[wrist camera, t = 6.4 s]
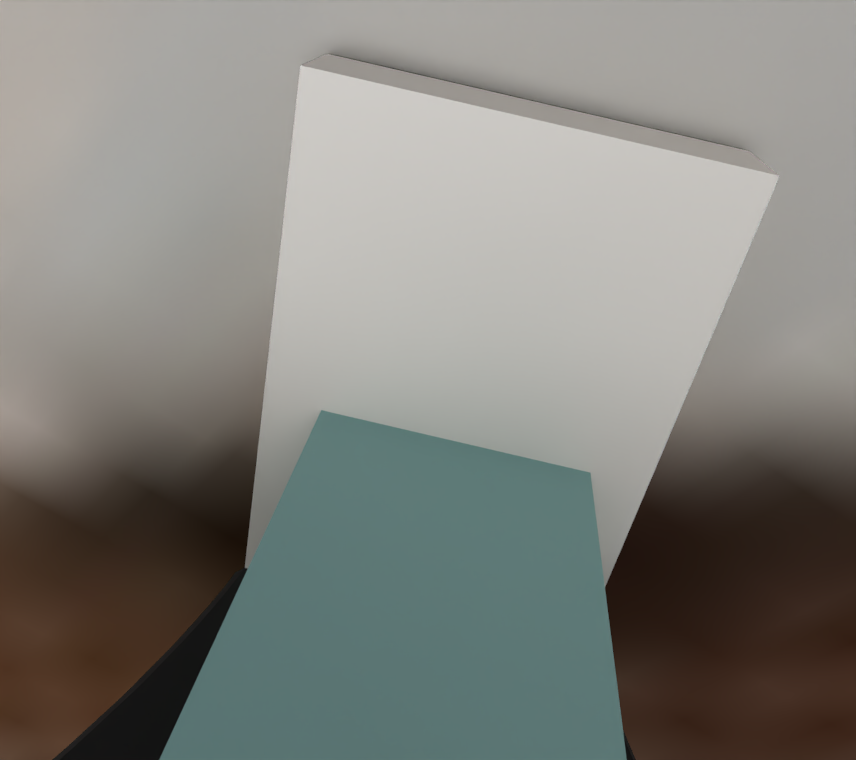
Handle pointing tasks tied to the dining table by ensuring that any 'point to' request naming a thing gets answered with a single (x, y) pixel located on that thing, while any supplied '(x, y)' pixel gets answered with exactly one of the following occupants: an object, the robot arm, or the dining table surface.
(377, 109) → the stub
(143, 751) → the robot arm
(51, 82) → the dining table surface
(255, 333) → the dining table surface
